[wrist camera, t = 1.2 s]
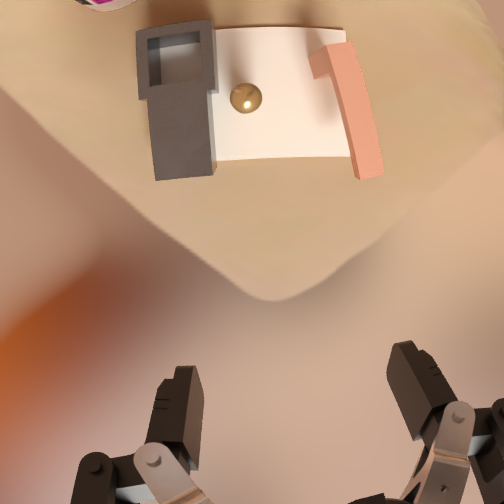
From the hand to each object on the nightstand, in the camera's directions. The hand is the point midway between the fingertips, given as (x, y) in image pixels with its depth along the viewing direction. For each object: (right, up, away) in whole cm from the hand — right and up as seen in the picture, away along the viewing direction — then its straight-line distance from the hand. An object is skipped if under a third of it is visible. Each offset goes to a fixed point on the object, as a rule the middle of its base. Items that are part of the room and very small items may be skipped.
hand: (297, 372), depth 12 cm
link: (-7, +18, +13) cm, 23 cm away
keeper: (+5, +17, +14) cm, 23 cm away
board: (-2, +18, +13) cm, 22 cm away
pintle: (-2, +17, +13) cm, 22 cm away
